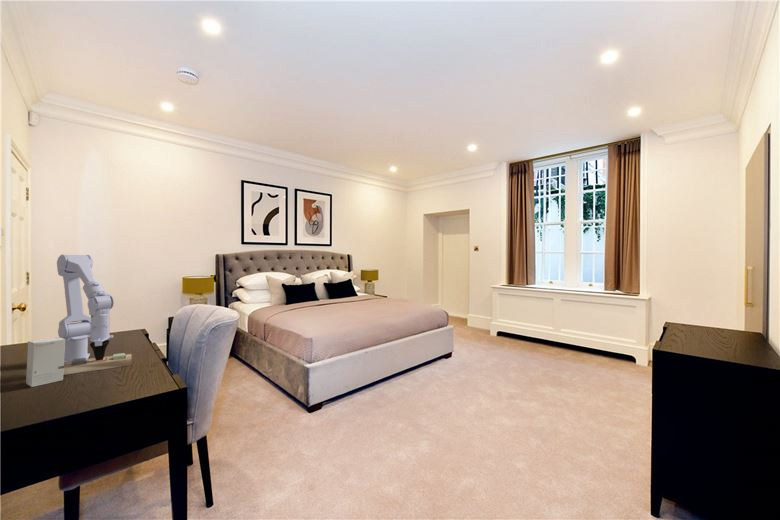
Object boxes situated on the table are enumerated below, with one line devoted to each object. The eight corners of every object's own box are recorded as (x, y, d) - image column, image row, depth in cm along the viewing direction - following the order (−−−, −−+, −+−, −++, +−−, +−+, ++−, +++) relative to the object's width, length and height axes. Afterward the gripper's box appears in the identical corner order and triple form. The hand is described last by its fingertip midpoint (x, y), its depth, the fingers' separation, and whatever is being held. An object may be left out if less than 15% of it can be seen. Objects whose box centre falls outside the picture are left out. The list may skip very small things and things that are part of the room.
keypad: (66, 368, 129) (66, 361, 129) (131, 359, 141) (131, 353, 141) (62, 375, 122) (62, 368, 122) (131, 365, 134) (131, 359, 134)
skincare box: (31, 387, 110) (31, 343, 110) (25, 383, 113) (26, 340, 113) (65, 380, 117) (65, 338, 117) (58, 376, 120) (59, 335, 120)
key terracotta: (93, 364, 132) (93, 359, 131) (105, 363, 134) (105, 357, 134) (92, 367, 129) (93, 361, 129) (105, 365, 131) (105, 360, 131)
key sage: (113, 359, 135) (113, 354, 135) (124, 358, 137) (124, 352, 137) (112, 362, 132) (113, 356, 132) (124, 360, 135) (124, 355, 135)
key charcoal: (73, 364, 128) (73, 359, 128) (85, 363, 130) (85, 357, 130) (71, 367, 125) (71, 361, 125) (84, 365, 127) (84, 360, 127)
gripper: (112, 328, 128) (111, 363, 128) (114, 321, 139) (113, 353, 139) (87, 330, 123) (87, 366, 124) (91, 323, 135) (91, 356, 135)
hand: (99, 359), depth 131 cm, fingers closed, pressing on key terracotta
